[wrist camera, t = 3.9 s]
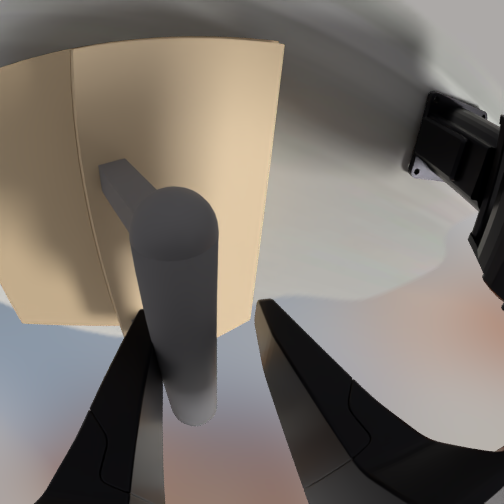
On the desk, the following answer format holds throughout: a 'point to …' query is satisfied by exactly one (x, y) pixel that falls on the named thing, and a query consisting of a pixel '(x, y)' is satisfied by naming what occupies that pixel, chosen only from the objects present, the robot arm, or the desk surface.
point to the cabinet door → (178, 190)
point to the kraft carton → (48, 198)
